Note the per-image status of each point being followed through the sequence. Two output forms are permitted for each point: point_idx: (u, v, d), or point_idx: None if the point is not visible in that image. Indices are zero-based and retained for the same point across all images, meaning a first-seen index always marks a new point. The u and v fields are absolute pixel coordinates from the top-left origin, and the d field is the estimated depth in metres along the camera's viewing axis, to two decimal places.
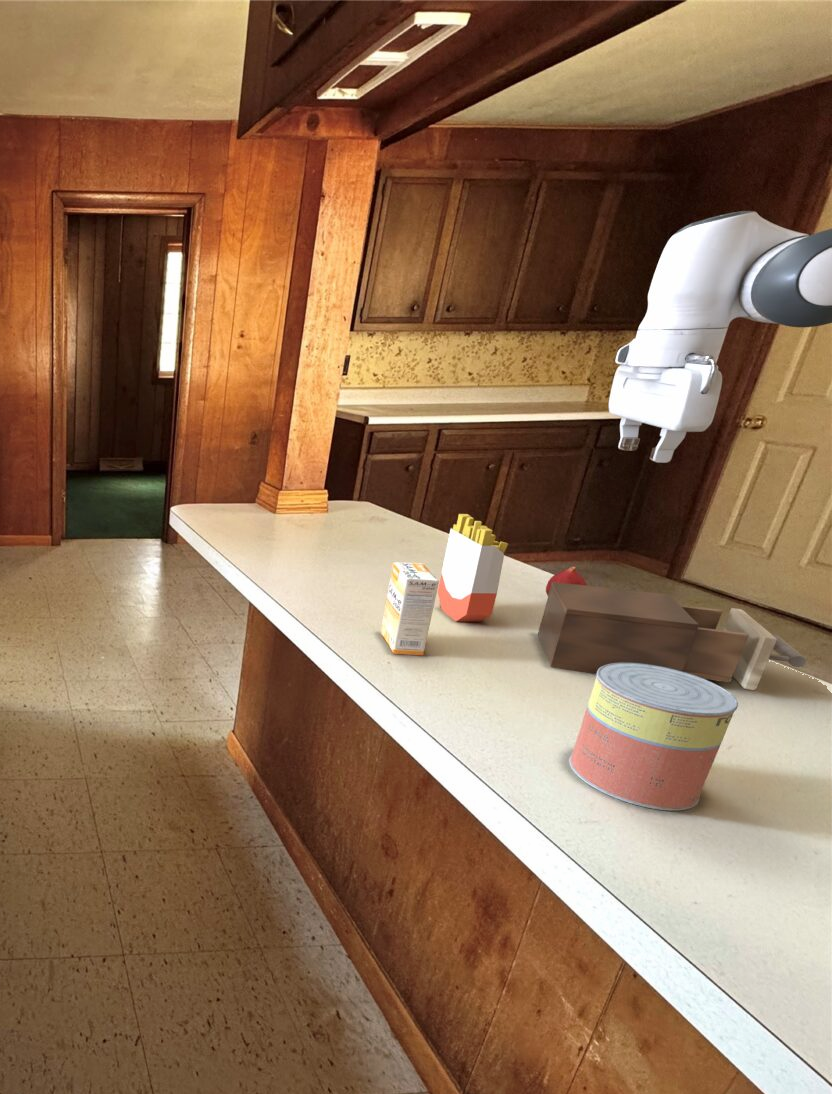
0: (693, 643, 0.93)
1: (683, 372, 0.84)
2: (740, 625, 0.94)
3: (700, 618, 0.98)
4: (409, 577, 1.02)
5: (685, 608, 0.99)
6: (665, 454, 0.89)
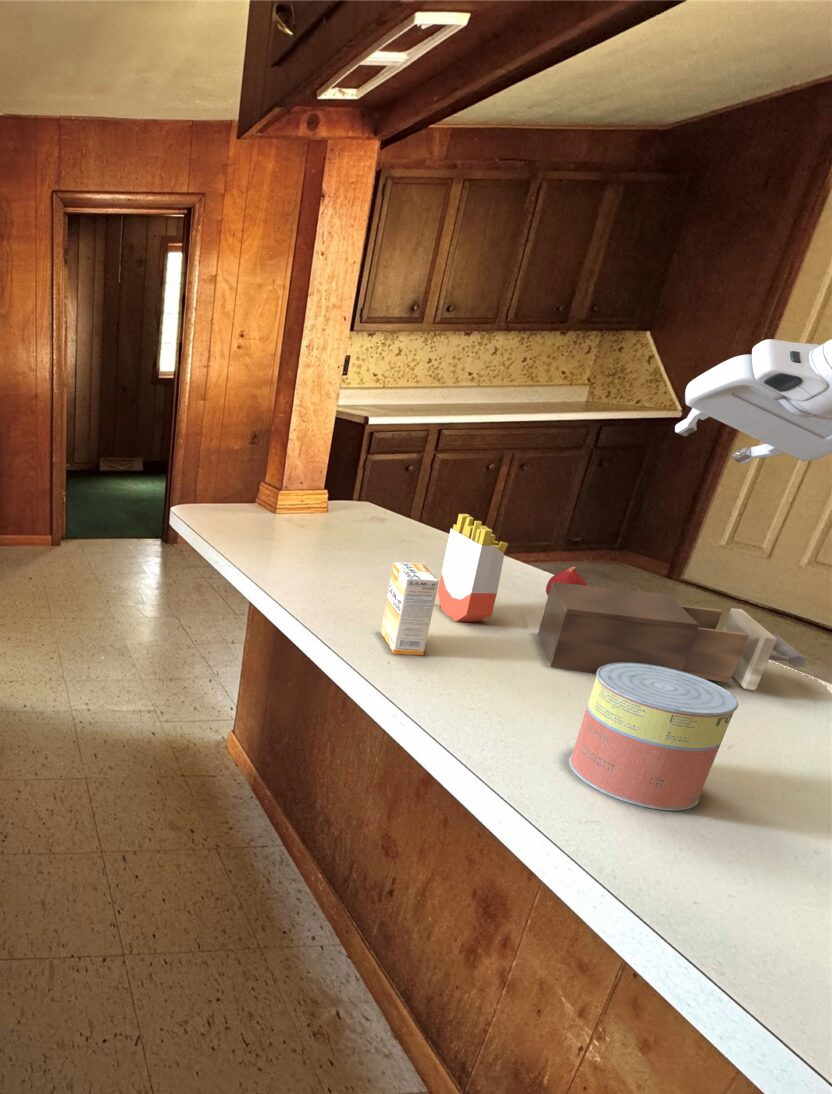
0: (693, 643, 0.93)
1: None
2: (740, 625, 0.94)
3: (700, 618, 0.98)
4: (409, 577, 1.02)
5: (685, 608, 0.99)
6: None
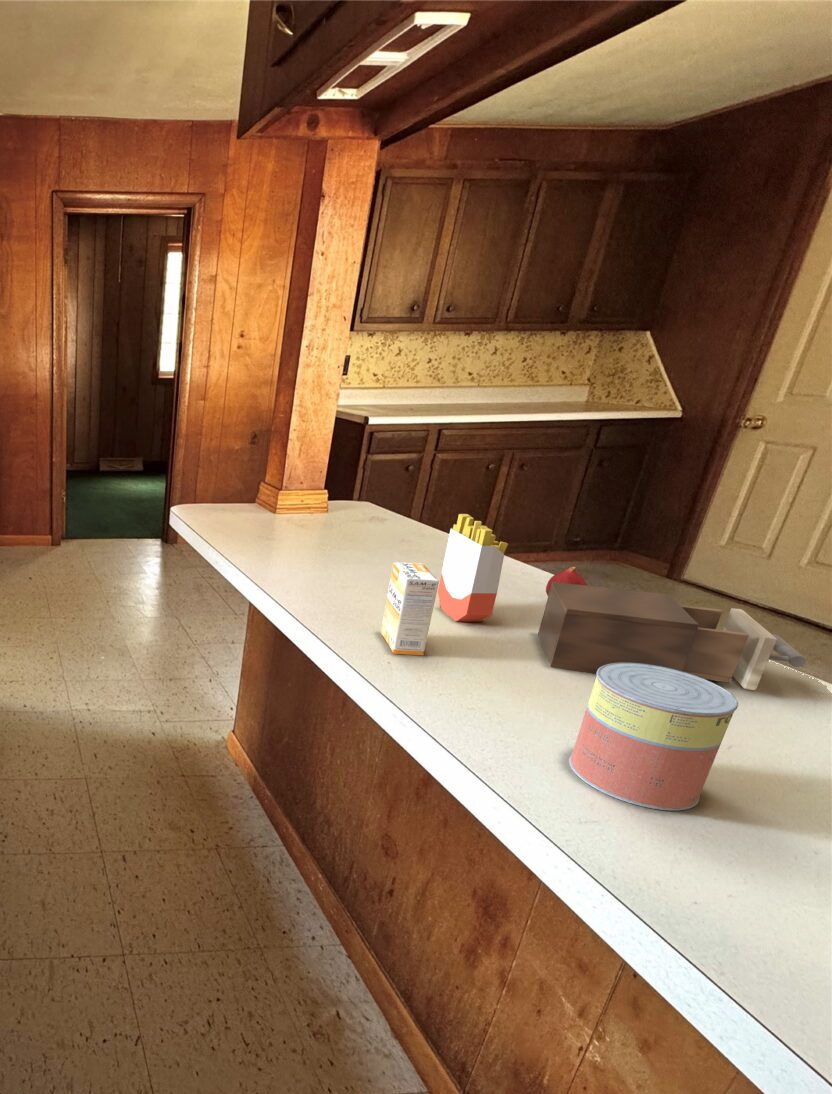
0: (693, 643, 0.93)
1: None
2: (740, 625, 0.94)
3: (700, 618, 0.98)
4: (409, 577, 1.02)
5: (685, 608, 0.99)
6: None
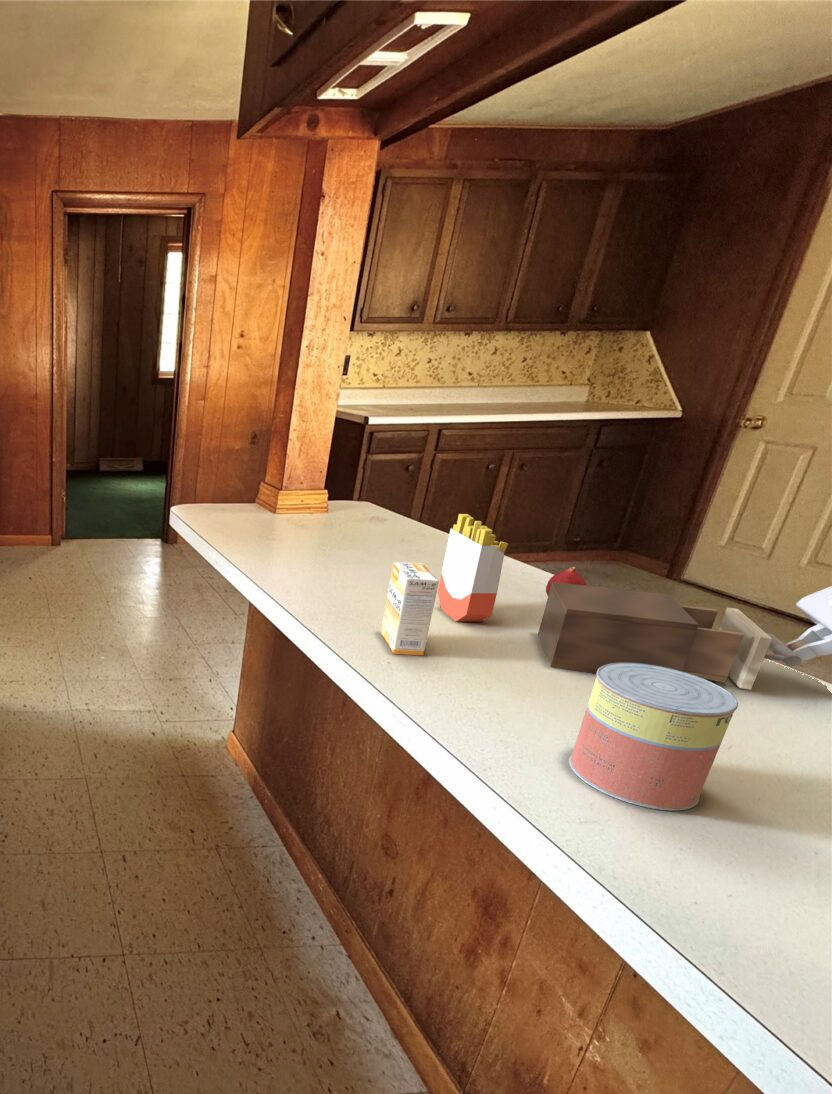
0: None
1: None
2: (735, 624, 0.95)
3: (696, 618, 0.99)
4: (409, 577, 1.02)
5: None
6: None
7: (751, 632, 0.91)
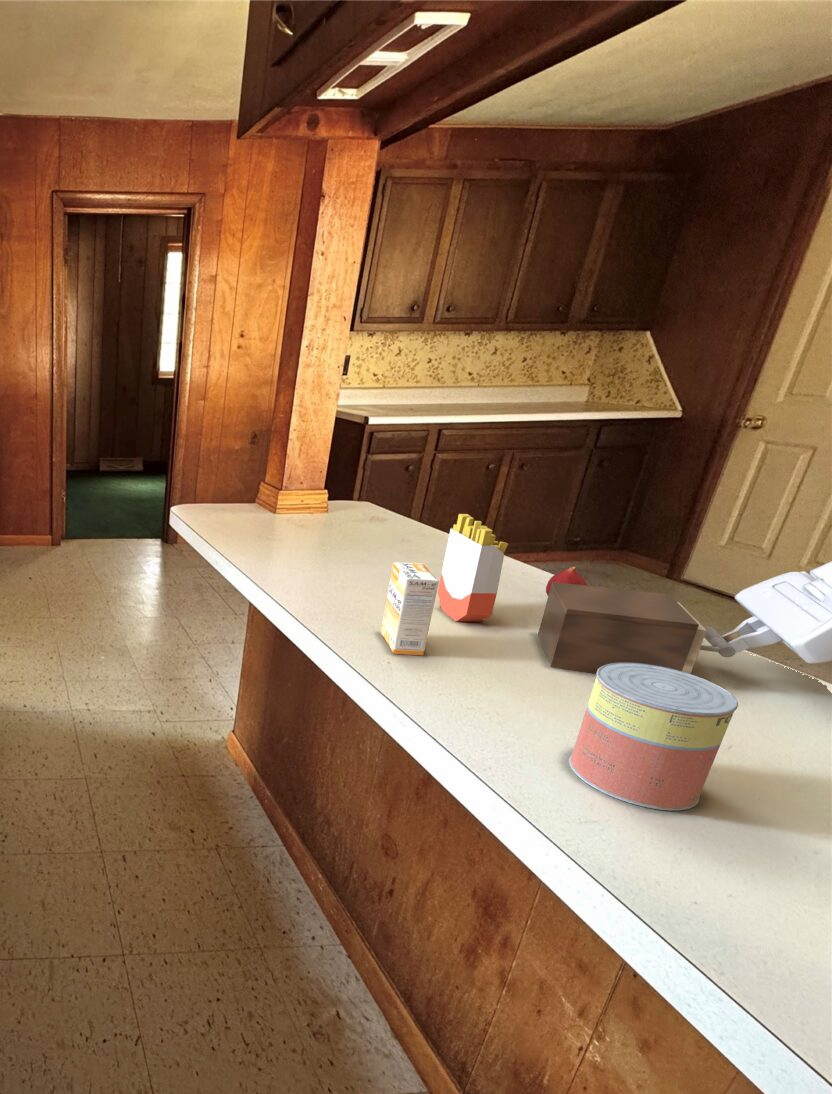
0: None
1: None
2: None
3: None
4: (409, 577, 1.02)
5: None
6: None
7: None
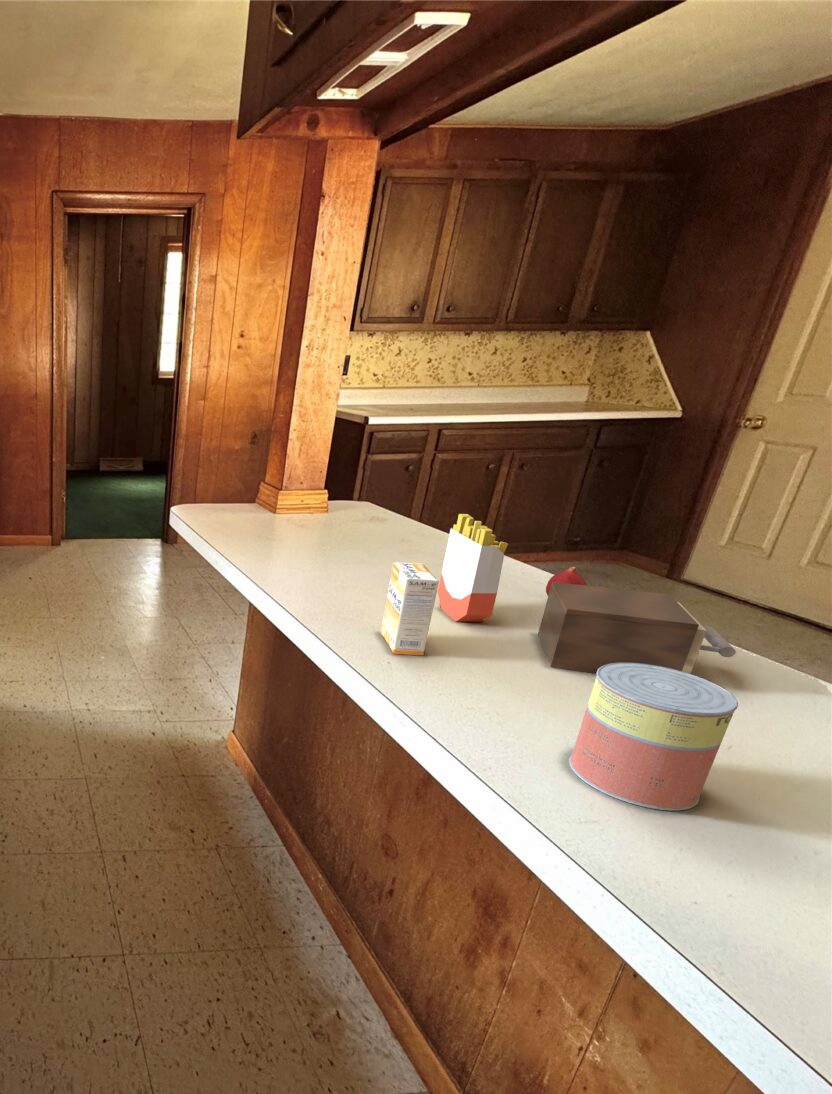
0: None
1: None
2: None
3: None
4: (409, 577, 1.02)
5: None
6: None
7: None
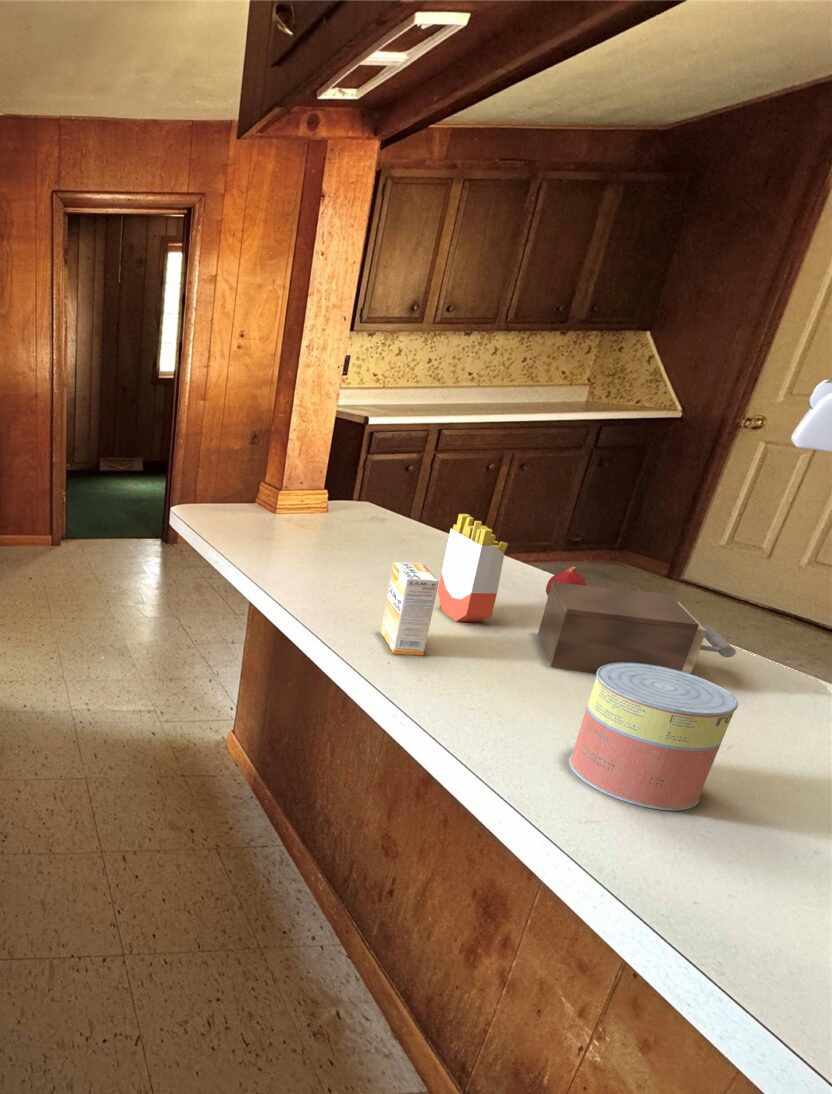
0: None
1: None
2: None
3: None
4: (409, 577, 1.02)
5: None
6: None
7: None
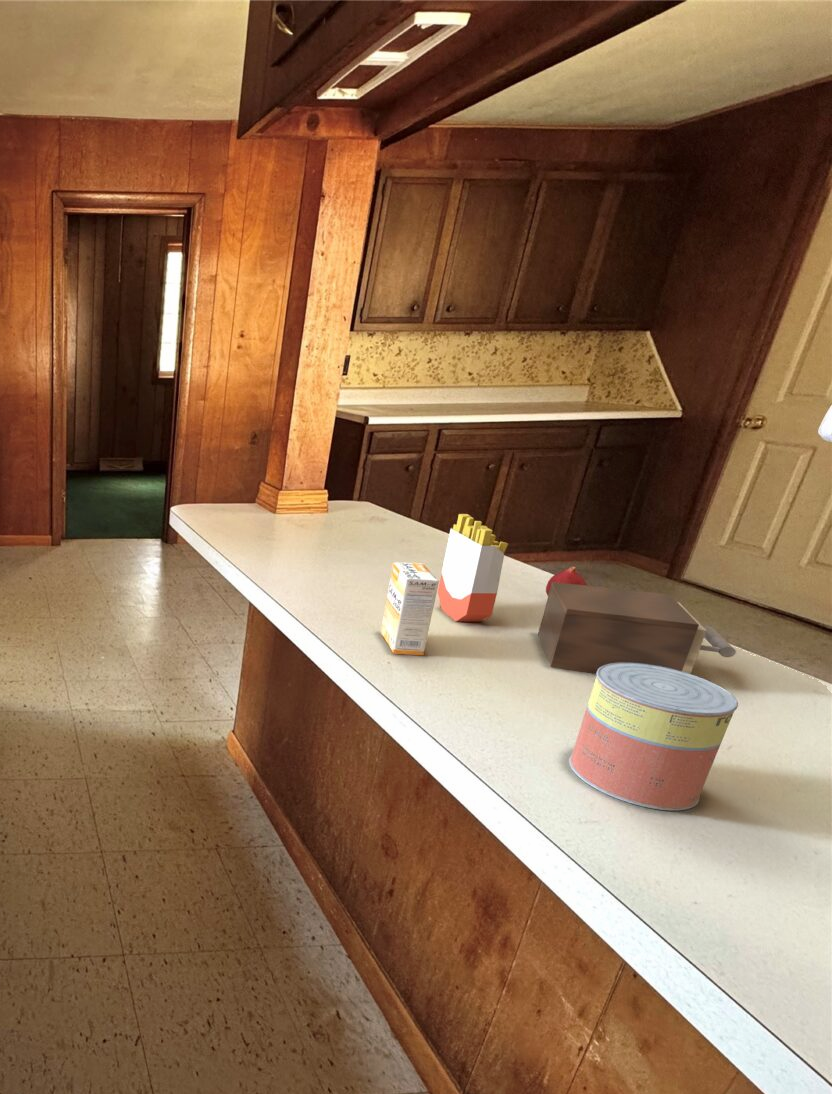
0: None
1: None
2: None
3: None
4: (409, 577, 1.02)
5: None
6: None
7: None
